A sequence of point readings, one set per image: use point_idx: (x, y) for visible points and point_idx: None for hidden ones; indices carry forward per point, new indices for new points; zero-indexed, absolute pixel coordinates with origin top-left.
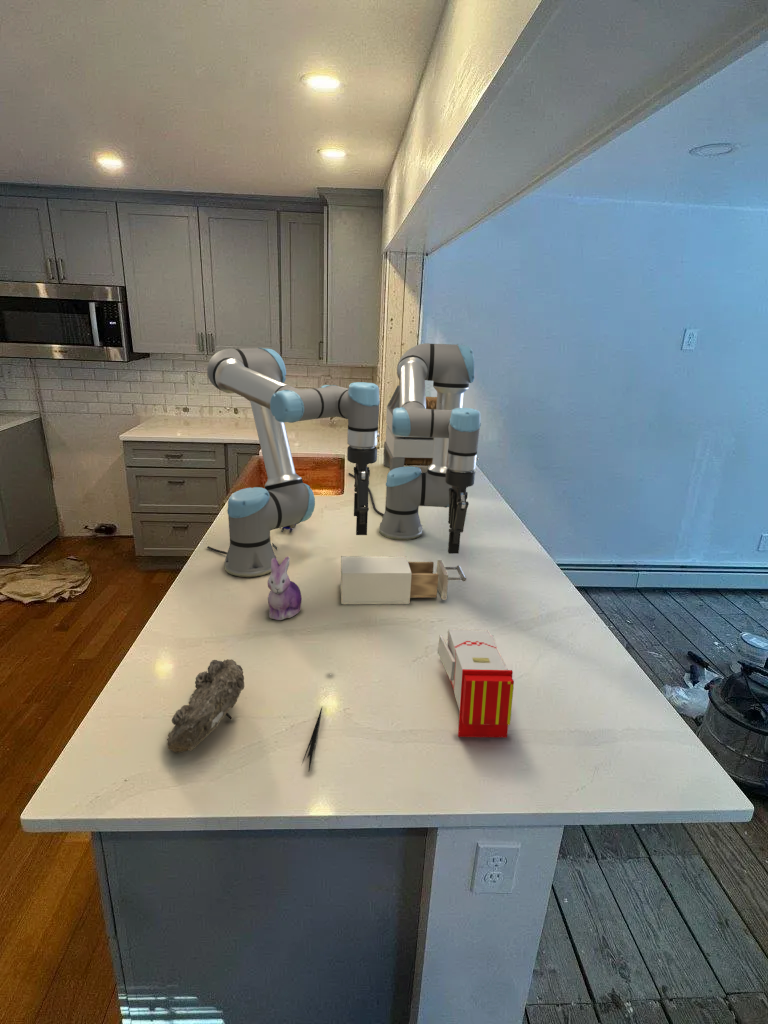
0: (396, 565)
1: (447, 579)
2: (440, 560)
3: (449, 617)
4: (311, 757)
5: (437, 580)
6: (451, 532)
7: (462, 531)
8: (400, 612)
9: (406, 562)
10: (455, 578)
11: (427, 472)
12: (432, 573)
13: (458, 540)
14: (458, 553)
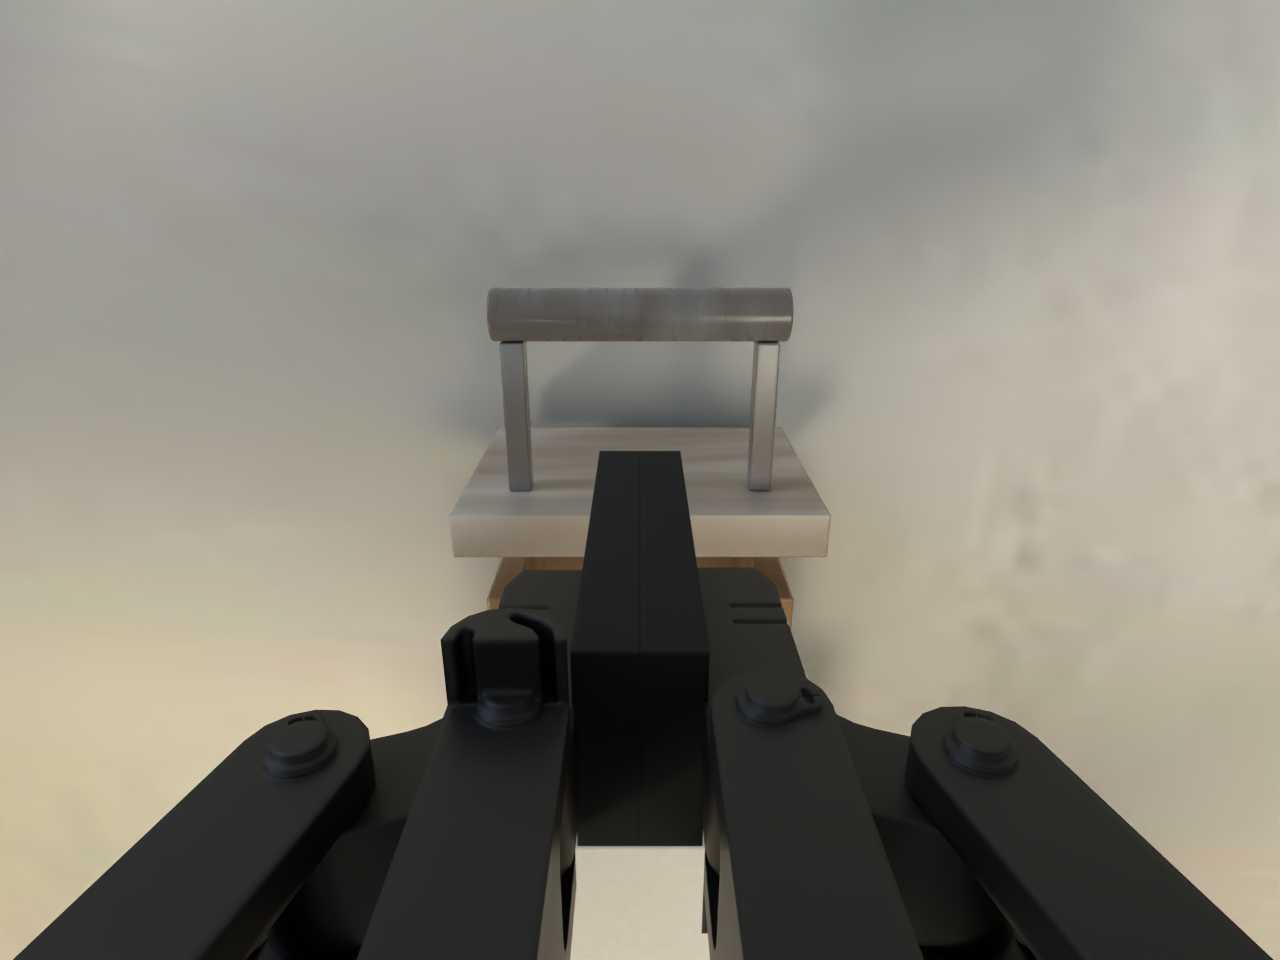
0: (664, 935)
1: (819, 500)
2: (464, 530)
3: (994, 435)
4: None
5: (783, 573)
6: (697, 811)
7: (1036, 752)
8: (877, 723)
9: (599, 861)
10: (774, 406)
11: None
12: None
13: (779, 604)
14: (679, 453)
